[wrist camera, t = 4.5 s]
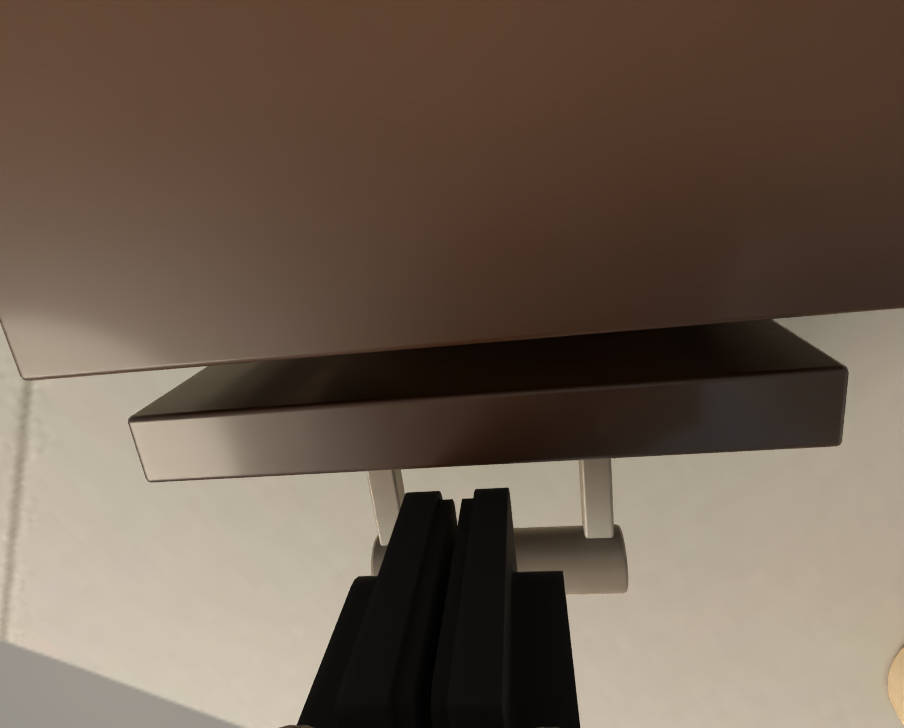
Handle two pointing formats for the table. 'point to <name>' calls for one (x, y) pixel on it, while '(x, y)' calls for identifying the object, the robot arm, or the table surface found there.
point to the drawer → (504, 419)
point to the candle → (897, 684)
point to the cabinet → (436, 173)
